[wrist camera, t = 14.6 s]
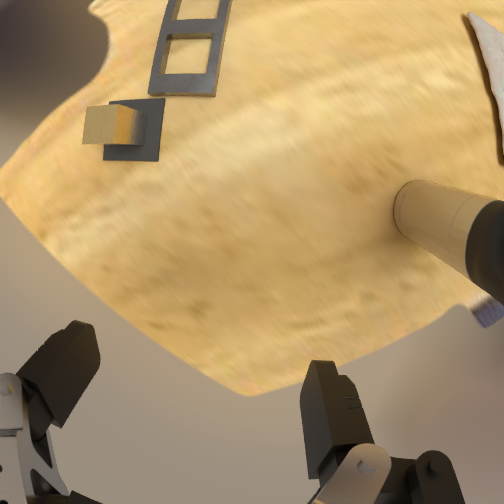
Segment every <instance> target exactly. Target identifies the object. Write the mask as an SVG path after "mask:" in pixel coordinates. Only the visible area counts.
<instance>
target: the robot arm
mask: <svg viewBox="0 0 504 504" xmlns="http://www.w3.org/2000/svg"><path fill="white" fill-rule="evenodd" d="M394 219H395V223H396V225H397V228H398V229H399V231H400V232H401V233H402V234H403V235H404V236H405V237H407V238H409V239H410V240H412V241H413V242H415V243H416V244H418V245H419V246H421V247H423V248H424V249H426V250H427V251H429V252H430V253H432V254H433V255H435V256H436V257H438V258H439V259H441V260H442V261H444V262H445V263H447V264H448V265H449V266H451V267H452V268H454V269H455V270H457V271H458V272H459V273H461V274H462V275H464V276H465V277H467V278H468V279H469V280H471V281H472V282H473V283H475V284H476V285H477V286H479V287H480V288H481V289H483V290H484V291H486V292H487V293H488V294H490V295H491V296H492V297H494V298H495V299H496V300H497V301H499V302H500V303H501V304H502V305H503V306H504V201H500V200H497V199H494V198H490V197H487V196H483V195H480V194H476V193H472V192H469V191H465V190H461V189H457V188H453V187H449V186H445V185H440V184H436V183H432V182H427V181H423V180H415V181H412V182H410V183H408V184H406V185H405V186H404V187H403V188H402V189H401V191H400V192H399V193H398V196H397V198H396V201H395V204H394ZM99 366H100V353H99V349H98V344H97V340H96V335H95V330H94V328H93V326H92V325H91V324H88V323H84V322H81V321H77V320H74V321H72V322H71V323H70V324H69V325H68V326H67V327H66V328H65V329H64V330H63V329H62V330H60V331H58V332H56V333H54V334H52V335H51V336H50V337H49V338H48V339H47V340H46V341H45V342H44V345H42V346H41V347H40V348H39V349H38V351H36V352H35V353H34V354H33V355H32V356H31V358H30V359H29V360H28V361H27V362H26V363H25V364H24V365H23V366H22V367H21V369H20V370H19V371H18V372H17V373H16V374H13V373H3V374H0V504H102V503H99V502H97V501H95V500H92V499H90V498H88V497H85V496H83V495H81V494H79V493H77V492H74V491H73V490H72V491H71V494H69V492H68V489H67V487H66V485H65V483H64V482H63V480H62V479H61V477H60V474H59V472H58V468H57V464H56V460H55V455H54V451H53V446H52V441H51V435H50V431H49V429H48V427H49V426H50V424H53V425H55V426H57V427H59V428H62V427H63V425H64V423H65V422H66V420H67V418H68V417H69V415H70V413H71V412H72V410H73V409H74V407H75V405H76V404H77V402H78V400H79V399H80V397H81V396H82V394H83V392H84V390H85V389H86V388H87V386H88V385H89V383H90V381H91V380H92V378H93V377H94V375H95V374H96V372H97V371H98V369H99ZM300 409H301V417H302V424H303V433H304V442H305V449H306V459H307V468H308V477H309V479H319V482H320V488H319V489H318V490H317V492H316V493H315V494H314V495H313V496H312V498H311V499H310V500H309V501H308V503H307V504H465V501H464V498H463V495H462V492H461V489H460V486H459V483H458V480H457V477H456V474H455V472H454V469H453V466H452V463H451V461H450V459H449V458H448V457H447V456H446V455H445V454H443V453H442V452H439V451H433V450H431V451H427V452H425V453H423V454H422V455H421V456H419V457H418V458H417V459H416V460H415V459H403V458H394V457H391V456H389V454H388V453H387V452H386V451H385V450H384V449H383V448H382V447H380V446H378V445H375V443H374V440H373V437H372V434H371V431H370V428H369V425H368V422H367V419H366V416H365V413H364V410H363V408H362V404H361V401H360V399H359V395H358V392H357V390H356V387H355V385H354V384H353V382H352V381H351V380H350V379H349V378H348V377H347V376H346V375H338V372H337V369H336V366H335V363H334V361H321V360H312V361H311V363H310V365H309V369H308V372H307V375H306V378H305V381H304V383H303V386H302V390H301V394H300Z"/></svg>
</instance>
